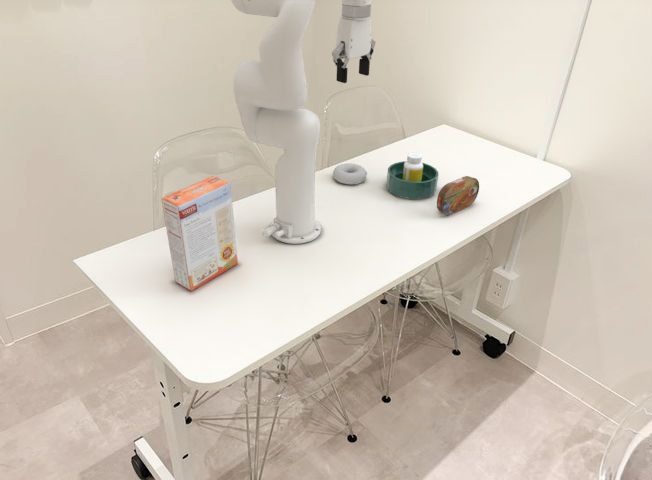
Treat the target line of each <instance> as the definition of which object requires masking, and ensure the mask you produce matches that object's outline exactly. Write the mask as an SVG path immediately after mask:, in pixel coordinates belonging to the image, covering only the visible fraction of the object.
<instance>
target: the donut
mask: <svg viewBox="0 0 652 480" xmlns="http://www.w3.org/2000/svg"><path fill="white" fill-rule="evenodd" d="M367 175H368V173H367V170H366V168H365V167H364V166H362V165H360V164H358V163H351V162H350V163H349V162H348V163H347V162H346V163H341V164H338V165H336V167H335V168H334V169H333V172H332V176H333V178H334V179H335V181H336V182H338V183H340V184H343V185H358V184H360V183H362V182H364V181H366V179H367Z"/></svg>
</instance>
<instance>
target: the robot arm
mask: <svg viewBox="0 0 652 480" xmlns="http://www.w3.org/2000/svg"><path fill="white" fill-rule="evenodd" d="M230 1H231V3H232V5H233V6H234V8H235V9H236V10H237V11H238V12H241V13H243V14H246V15H251V16H261V17H268V18H275V20H274V21H273V23H272V24H271V26H269V28H268V29H267V31H266V32H265V33H264V35H263V36H262V38H261V40H260V42H259V46H258V51H259V58H260V59H248V60H244V61H243V62H241V63H240V64H239V65H238V66H237V68H236V70H235V73H234V76H233V95H234V100H235V103H236V106H237V110H238V113H239V118H240V121H241V125H242V128H243V131H244V133H245V135H246V137H247V138H248V140H249V141H251V142H252V143H255V144H258V145H264V146H269V147H274V148H278V149H282V150H283V154H281V155H280V157H278V159H277V161H276V163H275V165H274V182H275V183H274V184H275V186H274V187H275V216H276V217H274V218H273V219H272V223H271V224H270V226H269V227H266V228H265V229H263V230H262V236H264V237H265V238H269V237H271V236H272V237H273V238H274V239H275V240H276V241H279V242H282V243H284V244H285V243H286V244H292V245H294V244H295V245H300V244H305V243H309V242H312V241H313V240H316V239H317V238H318V237H319V236H320V234H321V231H322V230H321V229H322V228H321V225H320V222H318V221H317V220H316V219H315V218H316V216H315V215H316V211H315V210H316V160H317V150H318V145H319V139H320V134H321V120H320V118H319V116H318V115H317V114H316V113H315V112H314V111H312V110H310V109H308V108H304V106H305V105H306V103H307V101H308V84H307V83H308V82H307V77H306V70H305V62H304V57H303V56H304V55H303V41H304V37H305V34H306V32H307V29H308V27H309V23H310V21H311V19H312V14H313V12H314V10H315V7H316V2H317V0H230ZM371 14H372V0H341V17H339V20H338V24H337V32H336V39H335V48H334V49H333V50H332V51H331V56H332V59H333V60H332V61H333V63H334V64H335V65H334V66H335V67H336V82H338V83H341V84H347V82H348V67H347V65H348V64H349V62H350V60H353V59H356V58H359V60H358V61H359V62H358V74H359V75H362V76H366V77H368V76H369V75H370V65H371V60H372V55H373V53H374V49H375V46H376V43H377V42H376V40H374V39H372V18H371V17H372V16H371Z"/></svg>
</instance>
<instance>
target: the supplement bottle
mask: <svg viewBox="0 0 652 480" xmlns="http://www.w3.org/2000/svg"><path fill="white" fill-rule="evenodd" d="M406 157H407V158H406V160H405V161H406V162H405V163H404V169H403V179H402V180H405V181H411V182H421V180H422V172H423V163H424V162H422V160H423V155H422V154H421V153H418V152H410V153H408V154H407V156H406Z"/></svg>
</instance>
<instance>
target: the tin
mask: <svg viewBox="0 0 652 480" xmlns="http://www.w3.org/2000/svg"><path fill="white" fill-rule="evenodd" d="M479 191H480V182H479V180H478V178H475V177H472V176H469V175H464V176H462V177H459V178H457V179H455V180H453V181H450V182H447V183H446V184H444V185H443V186H442V187H441V188H440V190H439V191H438V194H437V198H436V209H437V210H438V211H439V212H440V213H442V214H444V215H446V216H452V215H454V214H456V213H458V212H460V211H462V210H465V209H466V208H468V207H470V206H472V205H473V204H474V203H475V201H476V199H477V198H478V195H479Z"/></svg>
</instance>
